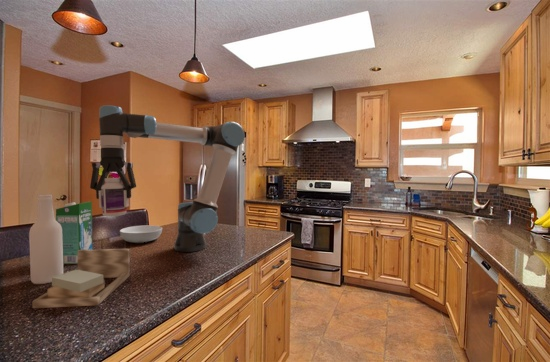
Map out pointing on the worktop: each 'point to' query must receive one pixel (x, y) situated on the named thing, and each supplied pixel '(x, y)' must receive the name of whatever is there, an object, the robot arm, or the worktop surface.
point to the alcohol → (45, 243)
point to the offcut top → (77, 280)
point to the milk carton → (75, 229)
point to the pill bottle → (113, 198)
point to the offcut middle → (73, 292)
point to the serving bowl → (141, 233)
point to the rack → (95, 262)
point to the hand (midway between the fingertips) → (114, 206)
